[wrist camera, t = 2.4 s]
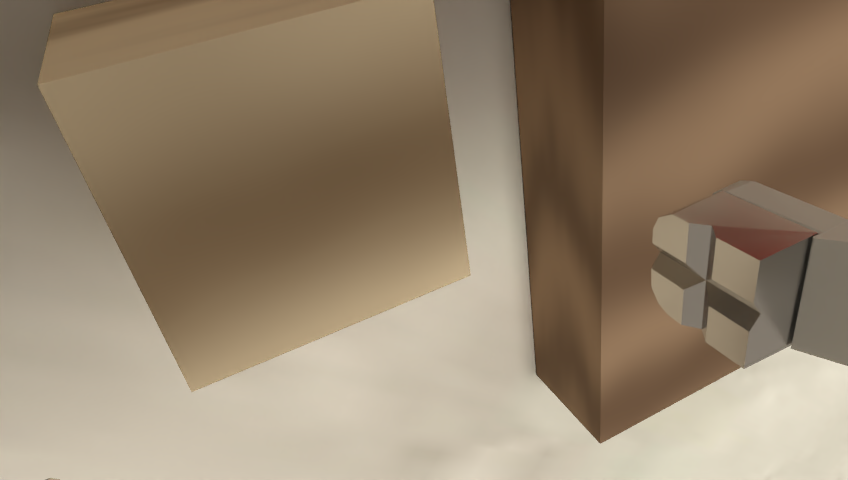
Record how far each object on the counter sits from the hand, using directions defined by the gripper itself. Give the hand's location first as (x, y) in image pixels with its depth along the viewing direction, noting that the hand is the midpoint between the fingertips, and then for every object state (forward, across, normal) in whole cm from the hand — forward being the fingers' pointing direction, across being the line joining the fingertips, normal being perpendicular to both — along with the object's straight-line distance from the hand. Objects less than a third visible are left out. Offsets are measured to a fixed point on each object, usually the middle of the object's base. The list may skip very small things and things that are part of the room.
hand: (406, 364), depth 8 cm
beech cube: (+10, 0, -1) cm, 10 cm away
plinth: (+10, -16, +5) cm, 20 cm away
